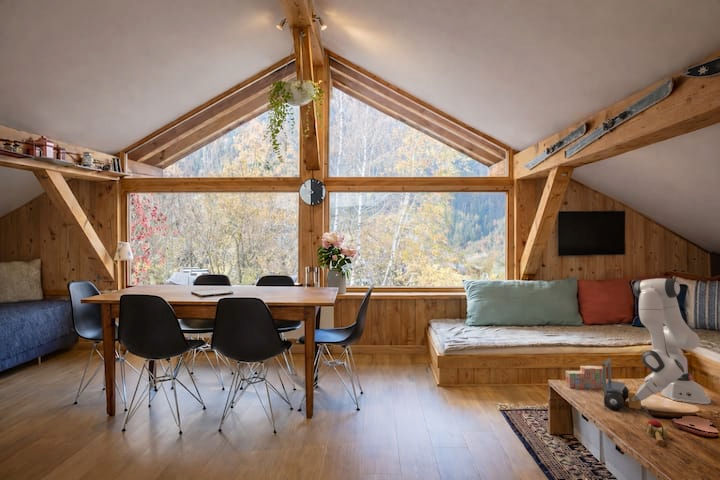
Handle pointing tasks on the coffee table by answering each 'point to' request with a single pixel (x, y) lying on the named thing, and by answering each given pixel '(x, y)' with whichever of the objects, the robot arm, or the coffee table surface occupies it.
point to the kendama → (657, 431)
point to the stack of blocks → (585, 377)
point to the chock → (636, 403)
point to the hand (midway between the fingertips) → (633, 398)
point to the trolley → (613, 390)
